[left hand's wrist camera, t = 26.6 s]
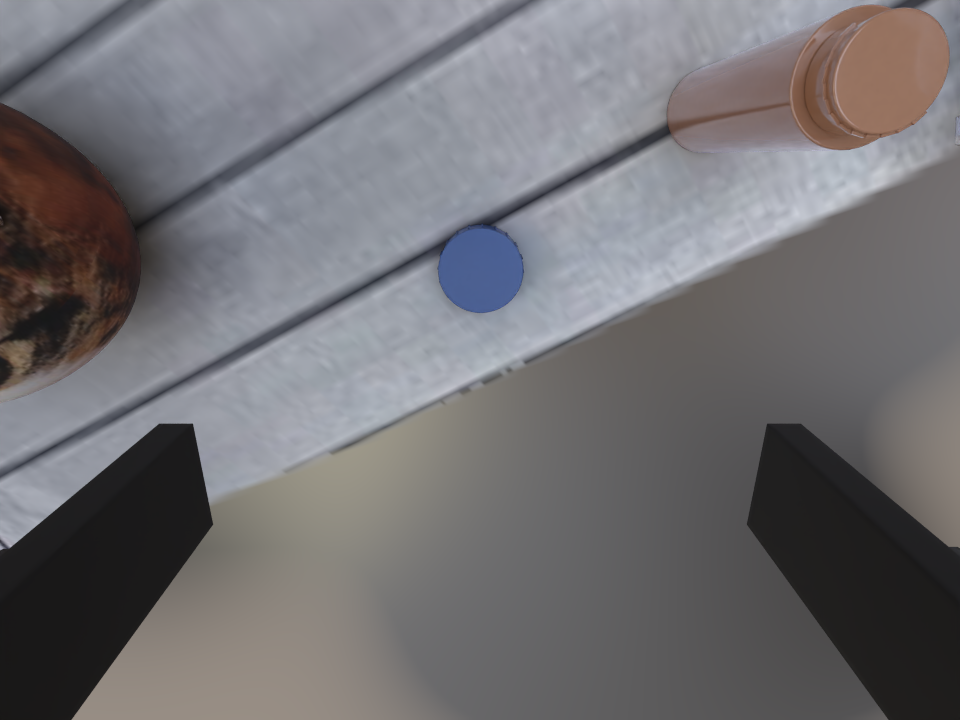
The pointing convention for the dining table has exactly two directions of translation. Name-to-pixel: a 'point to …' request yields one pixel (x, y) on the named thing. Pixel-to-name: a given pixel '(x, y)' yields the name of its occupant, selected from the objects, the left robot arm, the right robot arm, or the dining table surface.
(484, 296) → the lid
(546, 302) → the dining table surface
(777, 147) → the jar
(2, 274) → the brown and white balloon
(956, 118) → the right robot arm
